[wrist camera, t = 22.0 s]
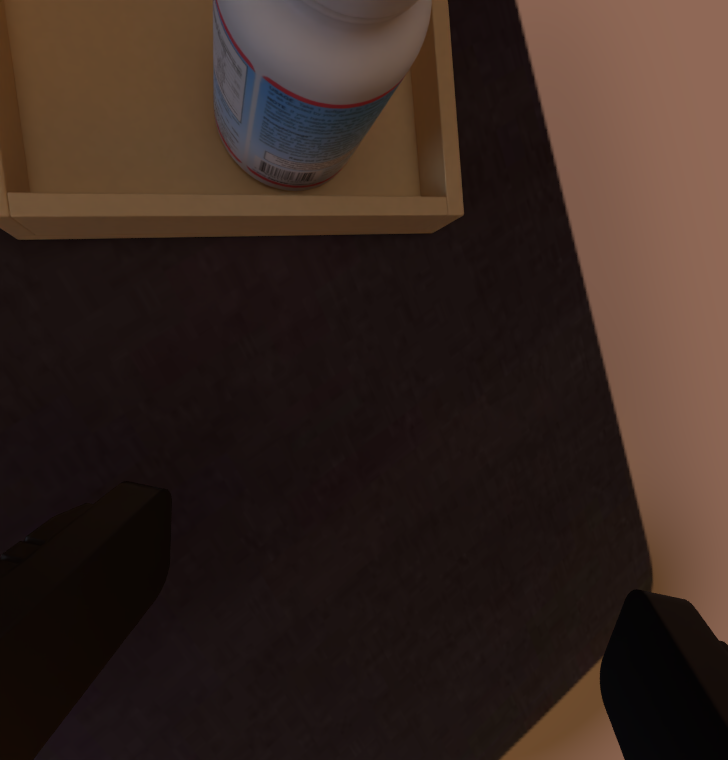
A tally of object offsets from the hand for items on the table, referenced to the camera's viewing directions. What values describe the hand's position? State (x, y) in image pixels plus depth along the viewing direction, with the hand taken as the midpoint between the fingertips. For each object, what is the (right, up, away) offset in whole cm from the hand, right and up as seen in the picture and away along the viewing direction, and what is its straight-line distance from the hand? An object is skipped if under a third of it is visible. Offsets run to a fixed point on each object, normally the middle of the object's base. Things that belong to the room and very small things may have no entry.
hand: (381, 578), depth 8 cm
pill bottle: (-4, +15, +12) cm, 20 cm away
